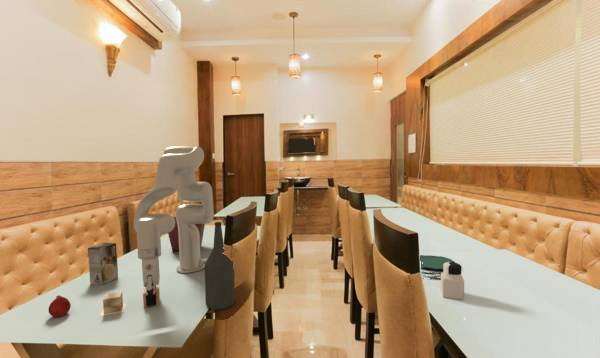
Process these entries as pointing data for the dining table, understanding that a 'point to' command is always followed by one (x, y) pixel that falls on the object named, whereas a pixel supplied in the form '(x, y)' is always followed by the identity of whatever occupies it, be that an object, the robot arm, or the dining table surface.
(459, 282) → the medicine bottle
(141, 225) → the robot arm
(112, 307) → the pale oak block
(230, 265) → the bottle
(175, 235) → the bucket
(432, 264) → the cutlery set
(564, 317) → the dining table surface
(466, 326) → the dining table surface
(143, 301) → the terracotta block
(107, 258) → the coffee box
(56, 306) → the onion
